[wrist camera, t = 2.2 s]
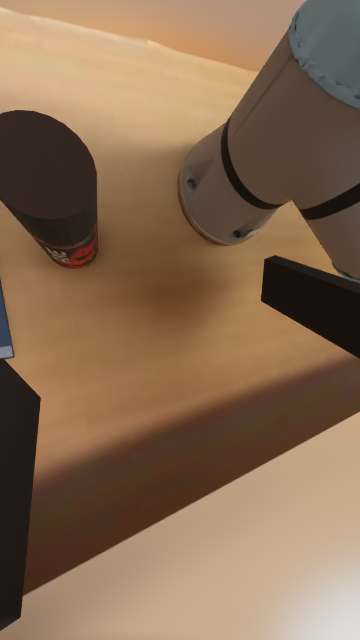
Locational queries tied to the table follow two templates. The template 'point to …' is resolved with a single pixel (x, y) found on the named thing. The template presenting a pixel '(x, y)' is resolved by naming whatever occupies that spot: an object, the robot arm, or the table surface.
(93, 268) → the table surface
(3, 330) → the book
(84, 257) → the deodorant
